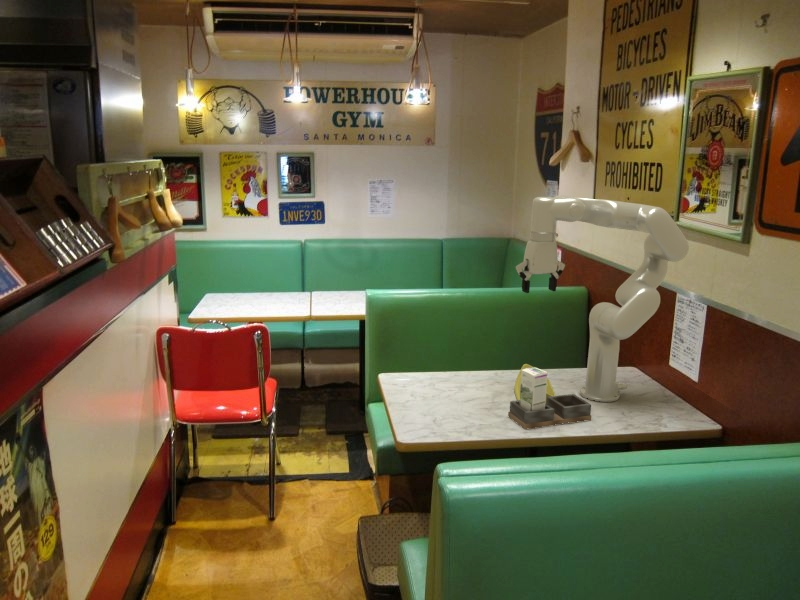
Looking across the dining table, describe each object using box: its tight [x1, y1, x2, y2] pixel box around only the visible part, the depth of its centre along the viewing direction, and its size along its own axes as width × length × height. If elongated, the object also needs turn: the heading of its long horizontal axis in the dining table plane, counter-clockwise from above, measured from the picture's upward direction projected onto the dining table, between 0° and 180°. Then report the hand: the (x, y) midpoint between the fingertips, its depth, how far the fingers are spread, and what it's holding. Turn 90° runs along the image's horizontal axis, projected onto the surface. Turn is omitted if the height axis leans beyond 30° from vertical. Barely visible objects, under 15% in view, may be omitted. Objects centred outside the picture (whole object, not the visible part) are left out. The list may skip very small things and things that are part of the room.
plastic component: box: [514, 363, 557, 404], centre depth 228 cm, size 20×7×10 cm
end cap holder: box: [507, 393, 592, 430], centre depth 207 cm, size 23×10×5 cm, turn 110°
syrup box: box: [519, 366, 549, 411], centre depth 204 cm, size 6×6×14 cm
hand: (538, 291), depth 215 cm, fingers open, 9 cm apart
